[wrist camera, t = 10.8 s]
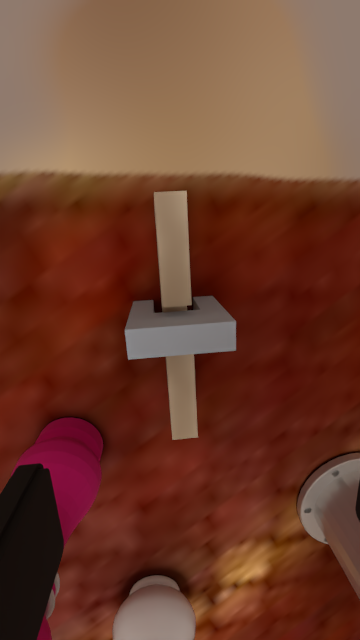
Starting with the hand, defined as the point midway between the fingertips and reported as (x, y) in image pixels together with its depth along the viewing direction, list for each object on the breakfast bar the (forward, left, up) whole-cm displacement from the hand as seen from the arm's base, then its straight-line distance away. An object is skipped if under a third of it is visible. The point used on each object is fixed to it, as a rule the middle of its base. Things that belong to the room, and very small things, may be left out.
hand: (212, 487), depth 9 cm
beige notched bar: (0, -1, -19) cm, 19 cm away
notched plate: (0, -1, -19) cm, 19 cm away
